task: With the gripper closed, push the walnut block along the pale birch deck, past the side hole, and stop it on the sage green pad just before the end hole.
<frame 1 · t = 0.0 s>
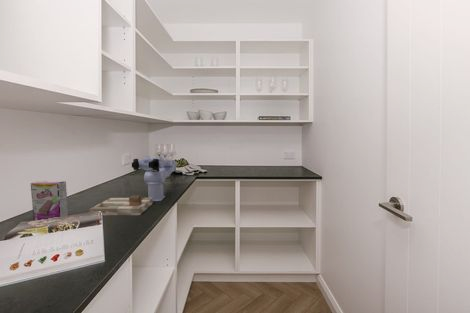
hand: (140, 164, 107), 22 cm above the counter, tool horizontal, fingers open, 7 cm apart
candy bar box: (51, 220, 97), on the counter
trap deck: (124, 208, 112), on the counter
walnut block: (135, 204, 108), point 3 cm above the counter, touching trap deck
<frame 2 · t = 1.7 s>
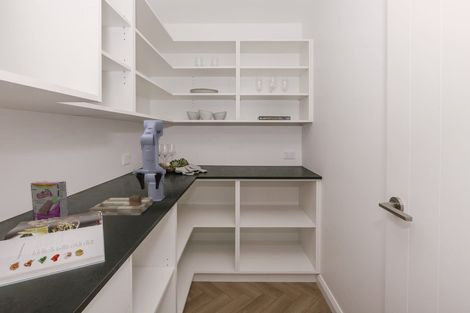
hand: (150, 189, 108), 10 cm above the counter, tool pointing down, fingers open, 6 cm apart
nothing on the counter moved.
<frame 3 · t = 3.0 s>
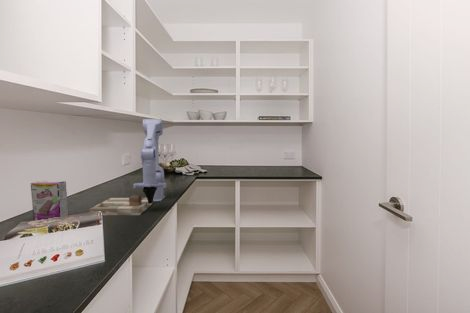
hand: (150, 202, 109), 4 cm above the counter, tool pointing down, fingers closed
nothing on the counter moved.
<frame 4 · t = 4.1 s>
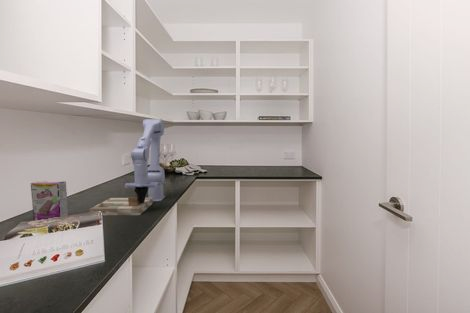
hand: (142, 202, 108), 4 cm above the counter, tool pointing down, fingers closed
walnut block: (134, 204, 108), point 3 cm above the counter, touching gripper, trap deck
everything else where it was.
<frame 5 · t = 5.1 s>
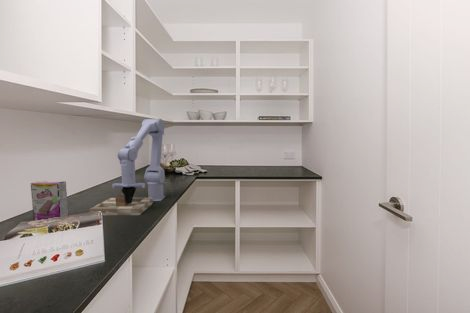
hand: (129, 202, 108), 4 cm above the counter, tool pointing down, fingers closed
walnut block: (122, 204, 108), point 3 cm above the counter, touching gripper
everything else where it was.
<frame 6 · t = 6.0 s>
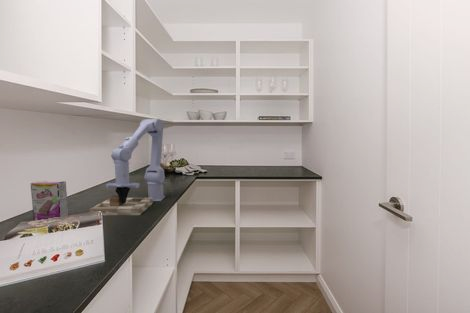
hand: (123, 203, 108), 4 cm above the counter, tool pointing down, fingers closed
walnut block: (116, 205, 108), point 3 cm above the counter, touching gripper, trap deck
everything else where it was.
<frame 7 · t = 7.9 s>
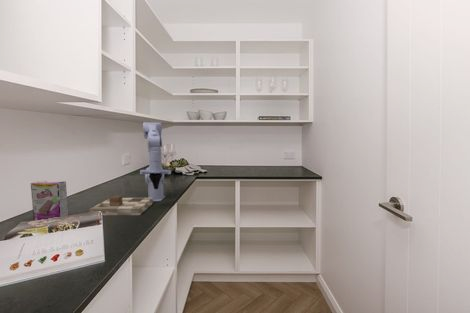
hand: (156, 188, 113), 9 cm above the counter, tool pointing down, fingers closed
walnut block: (116, 205, 108), point 3 cm above the counter, touching trap deck
everything else where it was.
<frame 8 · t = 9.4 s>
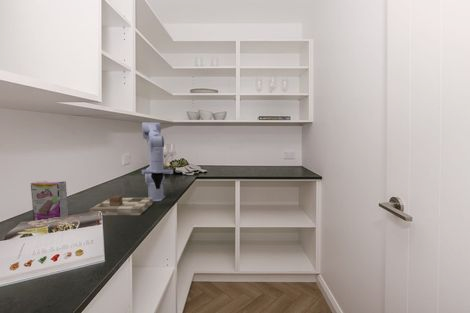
hand: (158, 188, 114), 9 cm above the counter, tool pointing down, fingers closed
nothing on the counter moved.
at the end: walnut block 0.6 cm from the target spot on the trap deck, point 3.0 cm above the trap deck's base; walnut block tilted 0° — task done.
